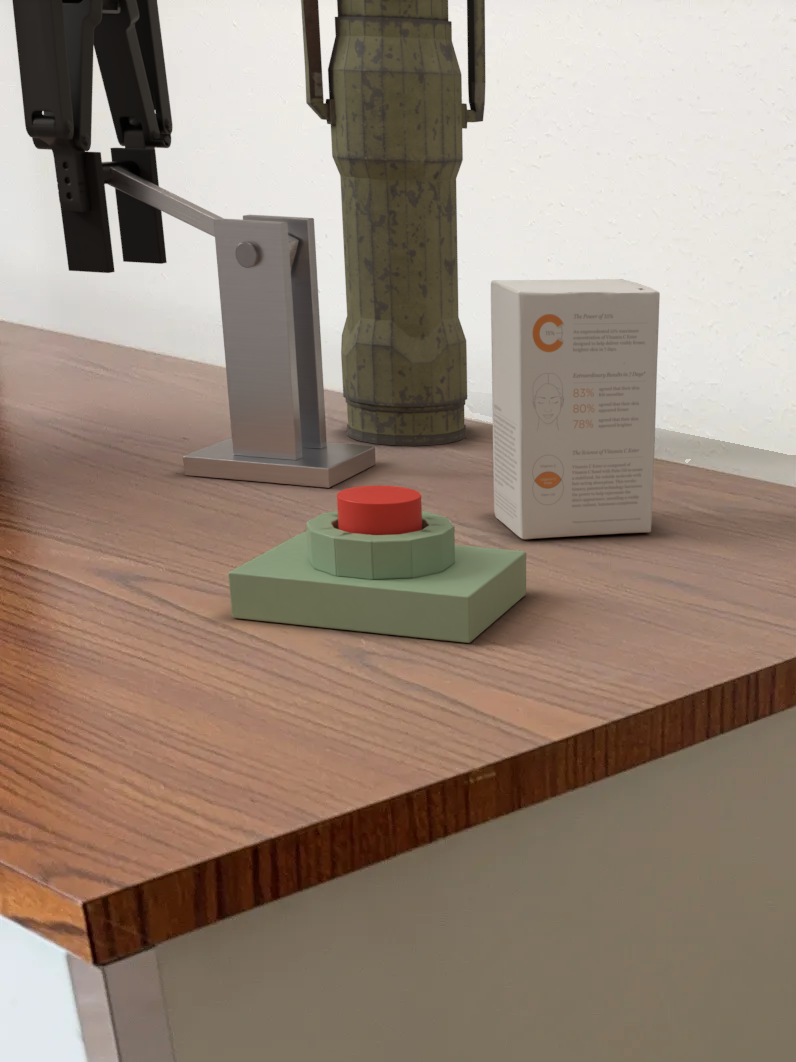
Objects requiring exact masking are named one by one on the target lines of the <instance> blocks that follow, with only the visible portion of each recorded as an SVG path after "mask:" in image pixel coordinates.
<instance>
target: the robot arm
mask: <svg viewBox="0 0 796 1062" xmlns="http://www.w3.org/2000/svg"><path fill="white" fill-rule="evenodd" d="M12 10H13V19H14V29H15V40H16V49H17V57H18V58H17V59H18V68H19V78H20V79H19V80H20V88H21V99H22V105H23V106H22V107H23V118H24V126H25V131H26V133H27V135H28V136H29V137H30V138H31V140H32V143H33V145H34V147H35V148H36V149H37V150H47V151H49V150H50V151H52V155H53V161H54V169H55V177H56V183H57V184H56V185H57V186H56V187H57V190H58V193H57V194H58V201H59V204H60V213H61V220H62V229H63V235H64V236H63V237H64V244H65V251H66V259H67V267H68V268H67V269H68V271H70V272H71V271H72V272H87V273H101V274H111V273H115V272H116V271H115V263H114V255H113V246H112V238H111V229H110V220H109V212H108V204H107V202H108V201H107V195H106V187H105V185H106V184H104V176H103V168H102V162H103V161H102V160H103V159H102V151H90V150H91V146H92V121H93V119H92V118H93V83H94V81H93V80H94V79H93V78H94V77H93V76H94V52H95V57H96V61H97V63H98V68H99V72H100V76H101V80H102V83H103V88H104V91H105V96H106V99H107V104H108V108H109V111H110V116H111V119H112V123H113V128H114V130H115V136H116V139H117V142H118V144H119V146H121V147H110V148H109V149H110V157H111V162H112V161H128V160H131V161H134V162H135V163H136V164H137V165H138V166H139V169H140V177H141V178H143V179H145V180H147V181H149V182H151V183H153V184H155V185H157V186H159V187H160V184H159V174H158V173H159V172H158V165H157V155H156V154H157V153H156V149H158V148H159V149H169V148H170V147H171V144H172V133H173V127H174V126H173V117H172V110H171V109H172V108H171V103H170V102H171V101H170V94H169V87H168V85H169V84H168V78H167V70H166V62H165V54H164V53H165V52H164V46H163V37H162V29H161V21H160V14H159V5H158V0H12ZM114 192H115V201H116V210H117V217H118V218H117V219H118V227H119V237H120V243H121V244H120V245H121V253H122V262H125V263H139V264H140V263H142V264H156V265H157V264H158V265H159V264H160V265H162V264H168V263H167V262H168V261H167V252H166V243H165V234H164V233H165V232H164V224H163V211H161V210H159V209H157V208H155V207H153V206H151V205H149V204H147V203H145V202H143V201H141V200H139V199H137V198H135V197H132V196H130V195H128V194H126V193H124V192H122V191H120V190H118V189H116V188H114Z"/></svg>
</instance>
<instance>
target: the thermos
mask: <svg viewBox="0 0 796 1062" xmlns="http://www.w3.org/2000/svg"><path fill="white" fill-rule="evenodd" d="M300 6H301V8H300V9H301V22H302V23H301V25H302V42H303V56H304V57H303V58H304V59H303V60H304V76H305V77H304V78H305V80H304V81H305V102H306V103H305V104H306V105H307V106H308V107H309V108H310V109H311V110H312V111H313V112H314V113H315V114H316V116H318V118H320V120H325V121H326V124H327V125H330V138H331V156H332V157H331V158H332V159H333V163H334V164H335V167H336V169H337V172H338V173H339V177H340V179H339V180H340V198H341V218H342V237H343V258H344V259H343V260H344V261H343V262H344V278H345V279H344V281H345V300H346V317H345V322H344V325H343V328H342V333H341V343H340V344H341V346H340V347H341V348H340V356H341V358H340V359H341V377H342V379H341V380H342V395H343V398H344V399H345V403H346V408H347V409H346V413H347V425H346V432H347V433H346V434H347V436H348V437H350V439H353V440H356V441H359V442H362V443H369V444H375V445H387V446H409V447H413V446H415V447H417V446H435V445H443V444H450V443H454V442H455V443H456V442H459V441H461V440H463V439H465V438H466V435H467V431H466V428H467V427H466V426H467V425H466V424H465V405H466V401H467V400H468V355H467V354H468V352H467V351H468V350H467V338H466V335H465V333H464V329H463V327H462V323H461V321H460V317H459V270H458V269H459V267H458V266H459V265H458V264H459V263H458V261H459V259H458V206H457V205H458V202H457V201H458V200H457V178H458V174H459V172H460V169H461V166H462V163H463V161H464V157H463V156H464V155H463V153H464V151H463V149H464V148H463V129H465V130H466V129H468V123H479V122H484V116H485V105H486V0H466V25H467V26H466V27H467V29H466V30H467V31H466V35H467V39H466V40H467V92H468V94H467V95H468V104H469V109H468V105H467V103H463V89H462V87H463V85H462V82H463V81H462V71H461V68H460V64H459V61H458V58H457V53H456V51H455V47H454V42H453V28H452V25H453V24H452V23H453V22H452V20H449V0H336V6H337V7H336V8H337V16H334V30H335V32H334V33H335V37H334V42H333V46H332V50H331V55H330V58H329V62H328V66H327V78H328V97H329V98H325V102H324V84H323V83H324V82H323V81H324V80H323V65H322V47H321V46H322V45H321V27H320V9H319V0H300Z"/></svg>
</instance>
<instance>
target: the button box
mask: <svg viewBox="0 0 796 1062" xmlns="http://www.w3.org/2000/svg"><path fill="white" fill-rule="evenodd" d="M305 527H306V530H304V531H302V532H300V533H298V534H296V535H294V536H293V537H290V538H289V539H287V540H285V541H284V542H282V543H280V544H278V545H276V546H274V547H272V548H271V549H269V550H267V551H265V552H263V553H260V555H257V556H256V557H254V558H252V559H250V560H249V561H246V562H244V563H243V564H241V565H239V566H237V567H236V568H234V569H232V570H230V571H228V573H227V575H228V576H227V577H228V585H229V586H228V587H229V599H230V609H231V617H232V618H233V619H240V620H247V621H248V620H250V621H259V622H267V623H268V622H269V623H276V624H277V623H278V624H285V625H286V624H287V625H296V626H306V627H314V628H315V627H316V628H323V629H334V630H344V631H352V632H362V633H370V634H371V633H372V634H379V635H380V634H381V635H390V636H399V637H408V638H416V639H417V638H418V639H427V640H428V639H429V640H435V641H446V642H454V643H455V642H457V643H465V644H470V643H472V642H473V641H474V640H475V639H476V638H477V637H479V636H480V635H481V634H482V633H483V632H485V630H487V629H488V628H489V627H491V625H493V624H494V623H495V622H496V621H497V620H498V619H499V618H501V616H503V615H504V614H505V613H506V612H508V611H509V610H510V609H511V608H512V607H513V606H515V605H516V604H517V603H518V602H519V601H520V600H521V599H522V598H524V597H525V596H526V595H527V551H525V550H516V549H504V548H494V547H483V546H474V545H462V544H455V543H456V542H455V525H454V524H453V523H452V521H451V520H450V519H449V517H448V516H444V515H440V514H436V513H434V512H430V511H425V510H422V530H420V531H415V532H409V533H404V534H397V535H368V534H357V533H349V532H346V531H342V530H339V527H338V510H333V511H329V512H323V513H320V514H318V515H316V516H315V517H313V518H311V519H309V520H307V521H306V524H305Z"/></svg>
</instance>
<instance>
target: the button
mask: <svg viewBox="0 0 796 1062" xmlns="http://www.w3.org/2000/svg"><path fill="white" fill-rule="evenodd" d="M336 505H337V506H336V507H337V511H338V527H339V530H342V531H346V532H349V533H357V534H368V535H397V534H404V533H409V532H415V531H420V530H422V511H423V508H422V506H423V505H422V494H421V492H419V491H418V490H416V489H412V488H409V487H403V486H397V485H361V486H354V487H349V488H344V489H342V490H340V491H338V492H337V494H336Z"/></svg>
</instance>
